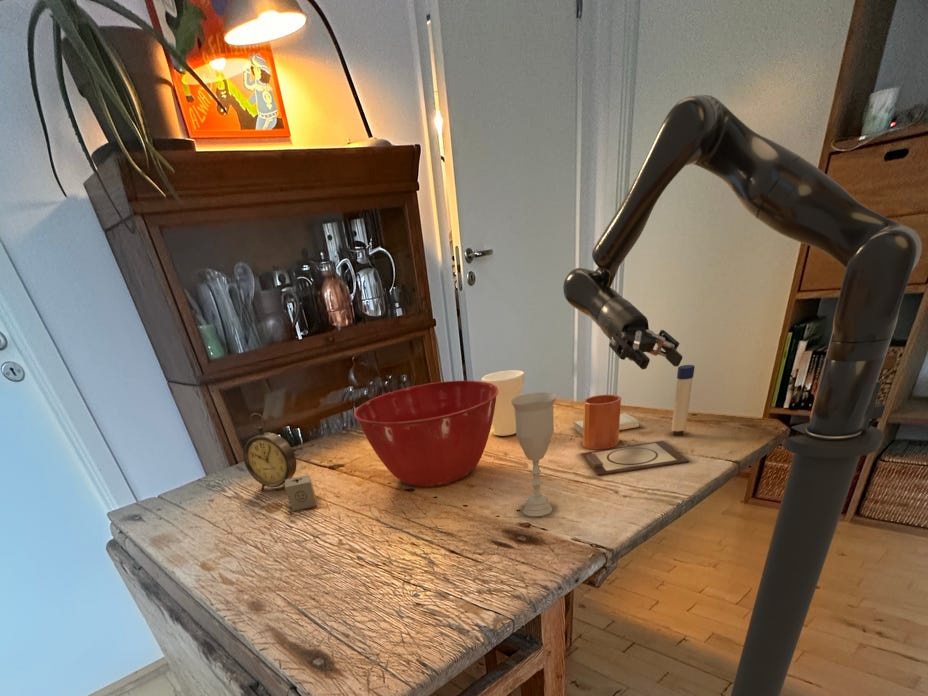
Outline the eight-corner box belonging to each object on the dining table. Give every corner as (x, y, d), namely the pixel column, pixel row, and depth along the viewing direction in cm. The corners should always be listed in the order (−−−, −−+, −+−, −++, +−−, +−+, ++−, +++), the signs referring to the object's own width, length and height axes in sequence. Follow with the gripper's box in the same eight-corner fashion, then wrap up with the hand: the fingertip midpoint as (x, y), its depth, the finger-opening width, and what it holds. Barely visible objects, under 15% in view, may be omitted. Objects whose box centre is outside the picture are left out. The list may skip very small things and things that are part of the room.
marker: (682, 431, 111) (690, 364, 103) (688, 435, 108) (697, 366, 101) (668, 433, 111) (675, 366, 103) (673, 437, 108) (681, 369, 101)
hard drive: (585, 430, 115) (639, 420, 116) (573, 421, 122) (624, 411, 122) (585, 437, 116) (638, 427, 117) (573, 428, 123) (624, 419, 123)
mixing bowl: (481, 503, 95) (472, 415, 85) (347, 502, 105) (326, 423, 95) (518, 451, 115) (513, 375, 106) (403, 454, 125) (390, 385, 116)
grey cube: (316, 497, 110) (309, 474, 107) (316, 505, 106) (309, 482, 103) (292, 502, 109) (284, 479, 106) (292, 511, 105) (284, 487, 102)
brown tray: (662, 442, 107) (663, 437, 106) (688, 462, 97) (689, 456, 96) (580, 454, 108) (580, 449, 107) (597, 475, 97) (597, 470, 97)
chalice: (562, 515, 86) (561, 400, 75) (521, 521, 86) (515, 407, 75) (552, 499, 92) (550, 390, 81) (514, 505, 92) (507, 397, 81)
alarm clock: (254, 493, 118) (226, 418, 108) (266, 484, 122) (241, 411, 112) (296, 491, 114) (271, 414, 105) (307, 482, 118) (284, 407, 109)
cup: (532, 426, 129) (529, 368, 121) (520, 439, 122) (516, 379, 114) (494, 427, 133) (490, 371, 125) (480, 440, 126) (474, 381, 118)
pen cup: (612, 436, 114) (614, 392, 109) (623, 446, 108) (625, 400, 103) (579, 441, 115) (579, 398, 109) (587, 451, 109) (588, 406, 103)
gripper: (602, 306, 109) (644, 347, 101) (655, 304, 113) (699, 343, 106) (589, 342, 115) (627, 383, 108) (640, 339, 120) (680, 378, 112)
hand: (663, 363), depth 107 cm, fingers open, 8 cm apart
